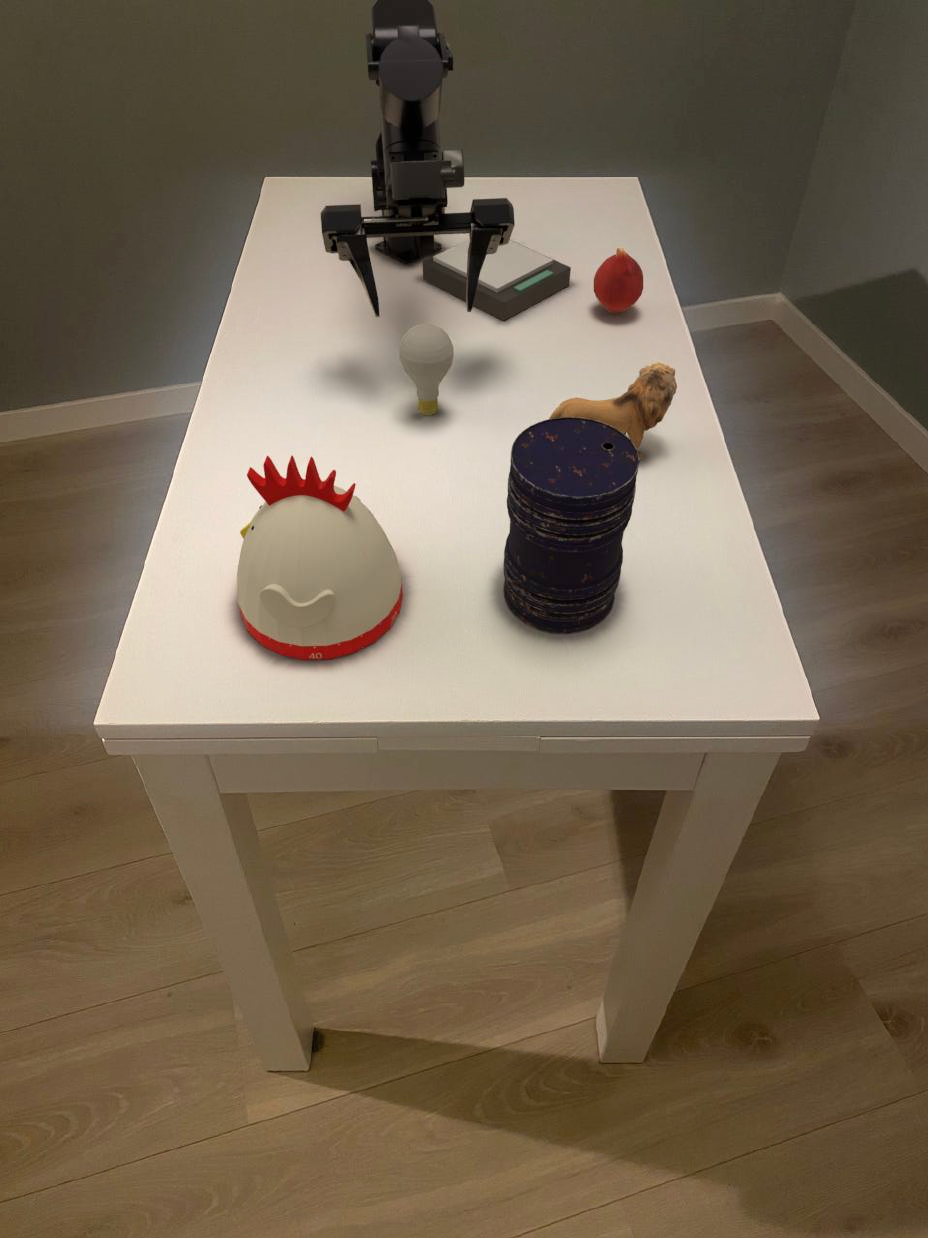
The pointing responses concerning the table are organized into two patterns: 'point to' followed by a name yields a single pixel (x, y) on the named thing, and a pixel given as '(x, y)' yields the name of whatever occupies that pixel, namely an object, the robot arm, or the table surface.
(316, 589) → the kitchen timer
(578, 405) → the lion figurine
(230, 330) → the table surface
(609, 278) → the onion
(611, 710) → the table surface
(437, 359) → the light bulb
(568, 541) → the rusty blue oil drum
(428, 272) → the kitchen scale
